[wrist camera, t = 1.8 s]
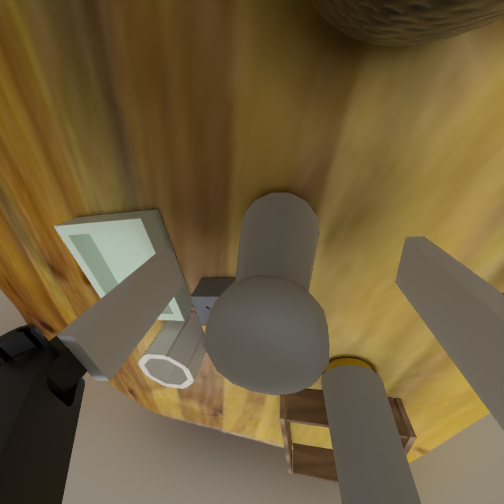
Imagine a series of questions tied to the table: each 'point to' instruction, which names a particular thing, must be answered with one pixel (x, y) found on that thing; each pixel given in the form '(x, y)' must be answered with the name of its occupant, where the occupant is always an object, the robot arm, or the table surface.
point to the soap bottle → (365, 437)
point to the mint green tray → (121, 251)
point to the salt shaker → (271, 303)
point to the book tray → (314, 413)
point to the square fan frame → (208, 296)
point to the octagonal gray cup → (175, 353)
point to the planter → (408, 18)
